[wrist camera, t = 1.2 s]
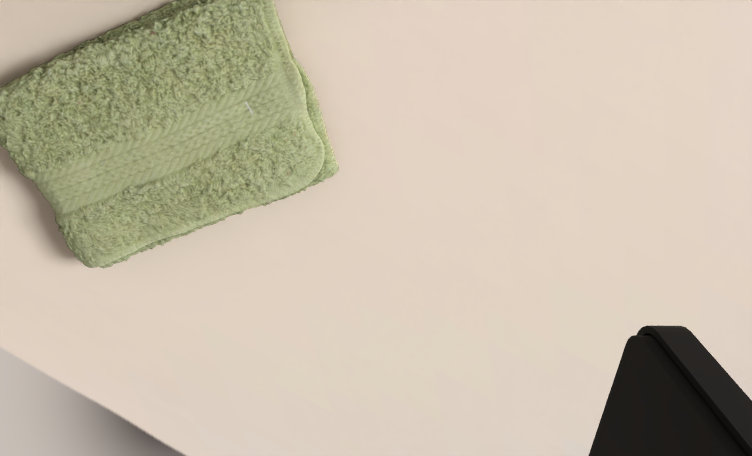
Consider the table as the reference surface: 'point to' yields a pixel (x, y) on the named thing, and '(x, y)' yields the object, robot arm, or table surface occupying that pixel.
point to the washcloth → (166, 127)
